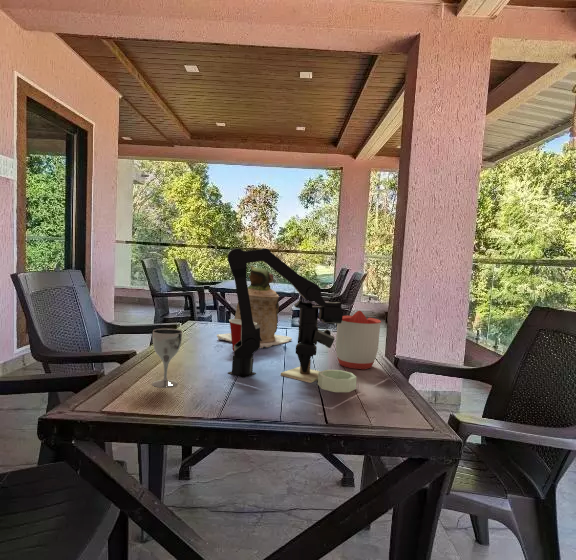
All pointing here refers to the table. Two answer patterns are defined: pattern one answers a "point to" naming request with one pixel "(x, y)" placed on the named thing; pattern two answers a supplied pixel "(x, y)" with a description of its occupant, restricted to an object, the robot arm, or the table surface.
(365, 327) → the citrus juicer
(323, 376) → the bowl
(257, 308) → the cookie jar
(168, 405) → the table surface
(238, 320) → the plastic cup
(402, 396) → the table surface
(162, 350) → the wine glass
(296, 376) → the lid
